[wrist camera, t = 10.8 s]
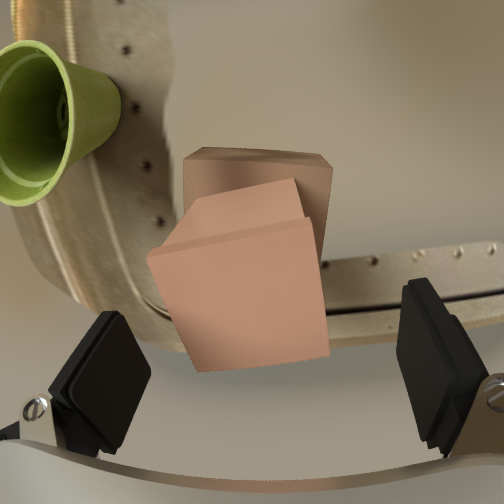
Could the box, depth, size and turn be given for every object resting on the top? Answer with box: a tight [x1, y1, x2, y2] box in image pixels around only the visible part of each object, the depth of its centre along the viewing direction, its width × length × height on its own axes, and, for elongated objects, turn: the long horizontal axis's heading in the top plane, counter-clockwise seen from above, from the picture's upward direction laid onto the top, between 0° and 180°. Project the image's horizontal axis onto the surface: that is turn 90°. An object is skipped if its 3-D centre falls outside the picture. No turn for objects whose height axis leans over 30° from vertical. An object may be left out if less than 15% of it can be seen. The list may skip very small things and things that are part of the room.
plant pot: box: [0, 40, 121, 206], centre depth 16 cm, size 9×9×9 cm
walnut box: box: [183, 147, 333, 266], centre depth 20 cm, size 8×8×5 cm
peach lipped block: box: [146, 178, 330, 372], centre depth 15 cm, size 6×6×7 cm
